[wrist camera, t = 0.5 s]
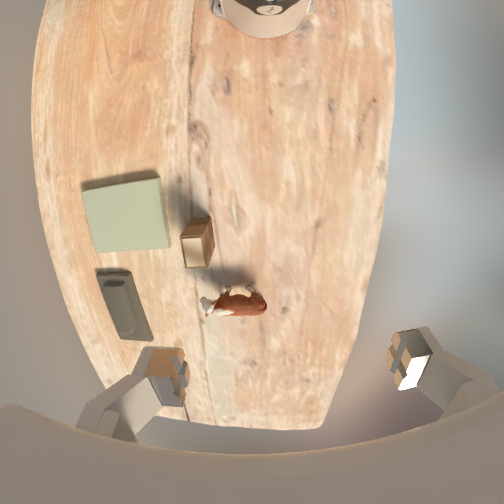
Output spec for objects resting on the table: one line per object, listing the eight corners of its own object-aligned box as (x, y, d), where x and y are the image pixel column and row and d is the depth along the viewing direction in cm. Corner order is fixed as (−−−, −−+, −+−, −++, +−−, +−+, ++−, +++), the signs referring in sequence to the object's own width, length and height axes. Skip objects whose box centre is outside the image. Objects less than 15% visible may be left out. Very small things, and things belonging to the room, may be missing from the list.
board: (86, 189, 51) (81, 192, 49) (160, 177, 50) (156, 179, 48) (100, 249, 57) (96, 253, 55) (171, 244, 56) (168, 248, 54)
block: (191, 219, 54) (179, 237, 45) (211, 217, 53) (202, 235, 45) (195, 247, 56) (185, 269, 48) (215, 246, 56) (207, 268, 48)
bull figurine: (204, 280, 59) (197, 302, 52) (267, 285, 60) (268, 308, 52) (204, 297, 61) (198, 319, 54) (264, 302, 61) (265, 326, 54)
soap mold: (121, 335, 68) (117, 343, 65) (98, 271, 60) (91, 278, 57) (154, 336, 68) (151, 345, 65) (133, 270, 59) (127, 278, 56)
